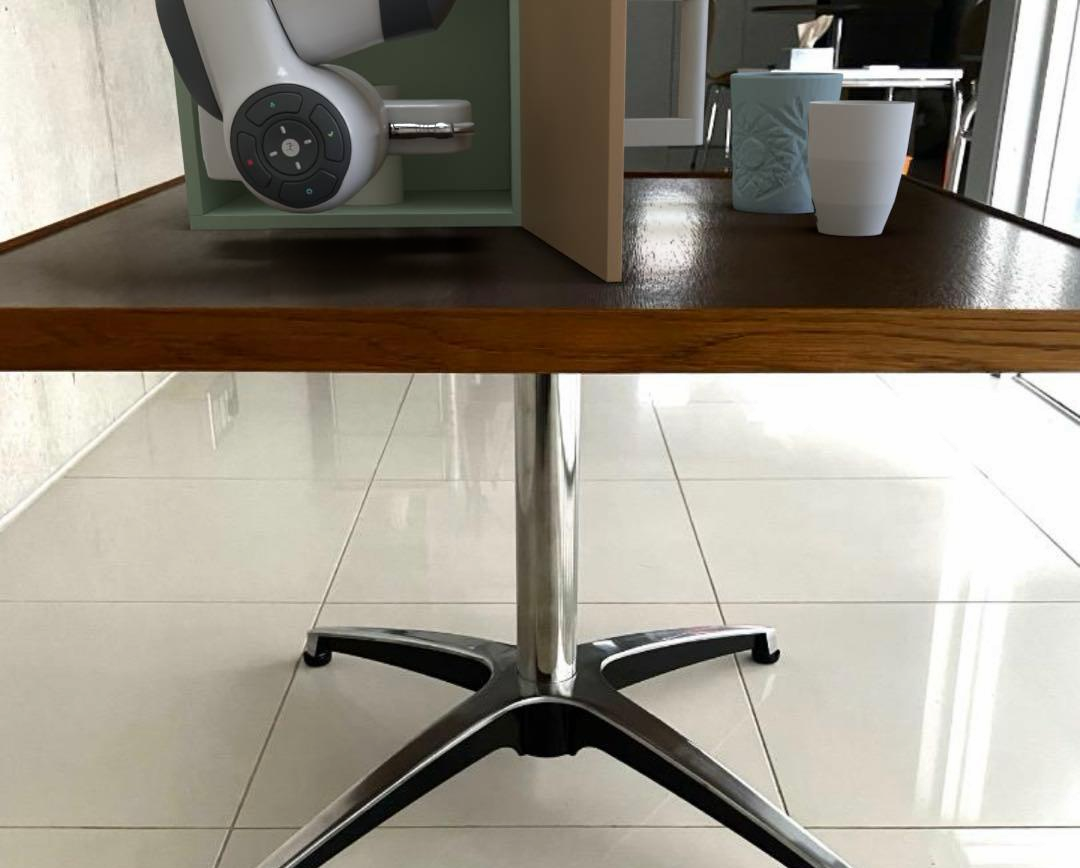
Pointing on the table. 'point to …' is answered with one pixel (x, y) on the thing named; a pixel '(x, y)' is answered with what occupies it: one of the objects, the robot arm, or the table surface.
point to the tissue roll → (383, 171)
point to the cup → (856, 162)
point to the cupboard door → (591, 121)
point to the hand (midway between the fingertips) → (348, 122)
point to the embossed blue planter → (775, 138)
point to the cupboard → (429, 181)
